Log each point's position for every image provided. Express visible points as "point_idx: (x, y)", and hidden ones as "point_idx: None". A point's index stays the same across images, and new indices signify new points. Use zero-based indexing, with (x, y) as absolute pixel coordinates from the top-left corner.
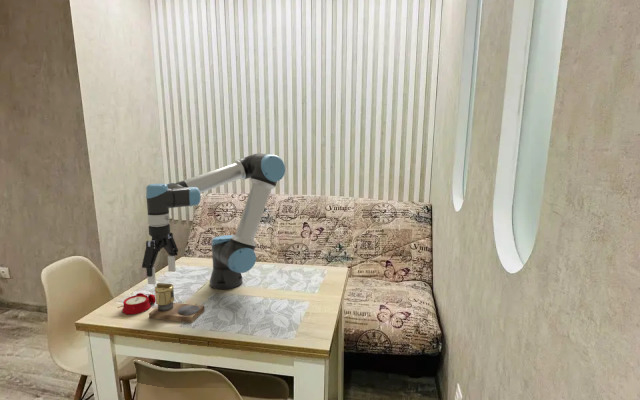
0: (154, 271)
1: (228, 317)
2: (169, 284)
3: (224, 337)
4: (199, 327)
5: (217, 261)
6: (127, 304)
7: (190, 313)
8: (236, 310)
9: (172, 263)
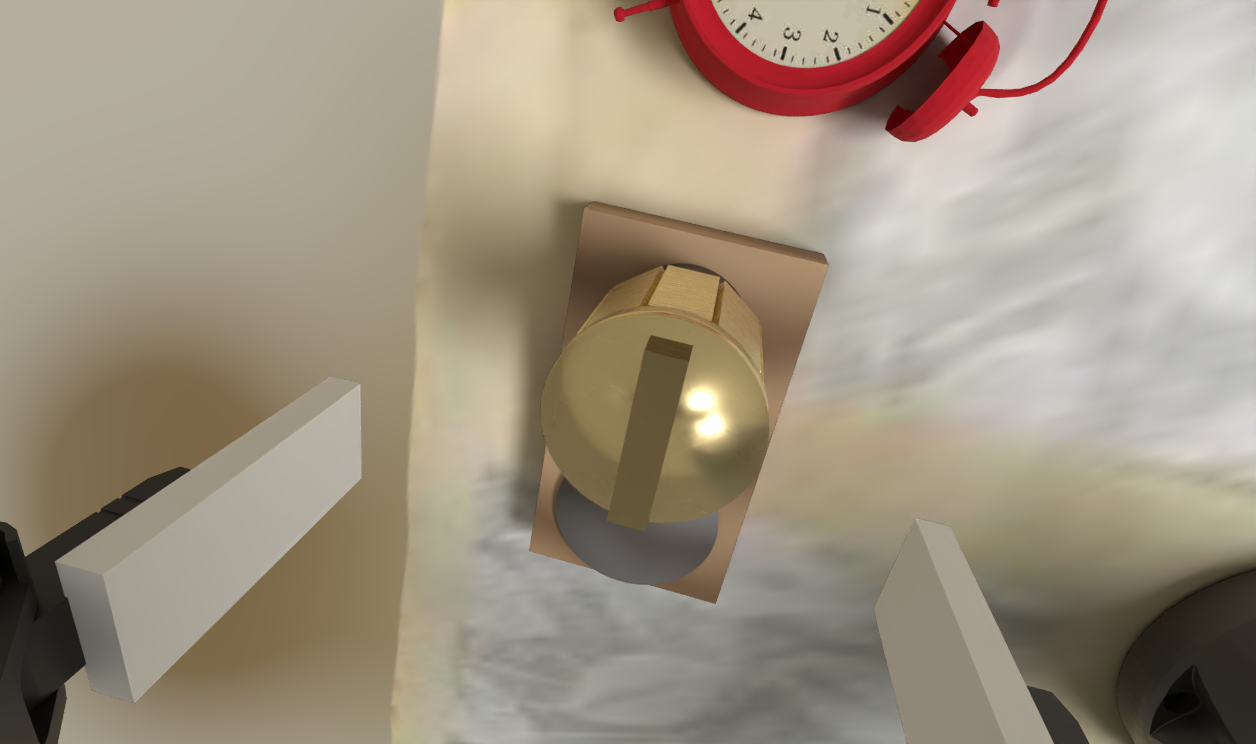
0: (196, 624)
1: (610, 704)
2: (630, 515)
3: (402, 691)
4: (484, 576)
5: None
6: None
7: (575, 540)
8: (702, 740)
9: (920, 722)
